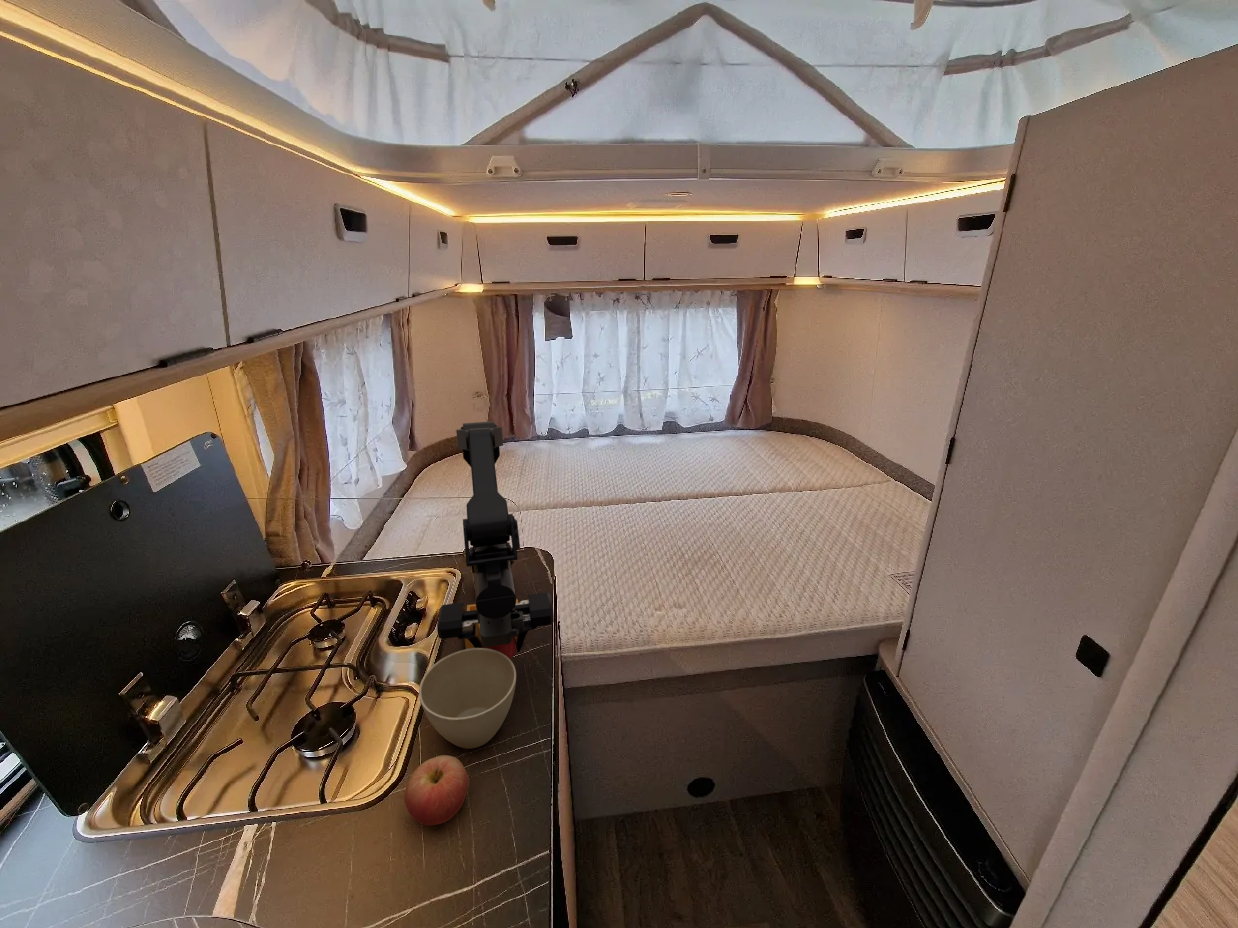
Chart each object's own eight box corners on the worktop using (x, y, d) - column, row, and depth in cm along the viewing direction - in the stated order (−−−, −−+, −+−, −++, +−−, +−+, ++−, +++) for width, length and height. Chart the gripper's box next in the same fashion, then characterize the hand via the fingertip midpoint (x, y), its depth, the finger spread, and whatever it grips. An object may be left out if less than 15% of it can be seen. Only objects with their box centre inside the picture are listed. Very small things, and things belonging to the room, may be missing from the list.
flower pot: (528, 750, 79) (525, 700, 75) (430, 783, 73) (421, 732, 70) (509, 683, 91) (506, 637, 87) (424, 708, 86) (416, 660, 82)
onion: (521, 651, 94) (519, 616, 91) (512, 675, 88) (509, 639, 85) (490, 649, 94) (487, 613, 91) (479, 673, 89) (475, 636, 86)
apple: (483, 796, 72) (478, 756, 69) (440, 850, 65) (432, 808, 62) (442, 770, 75) (435, 730, 72) (396, 818, 69) (387, 777, 66)
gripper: (428, 618, 75) (440, 698, 81) (556, 602, 79) (558, 679, 85) (435, 574, 85) (446, 648, 91) (548, 562, 89) (551, 634, 95)
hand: (500, 653), depth 91 cm, fingers closed on onion, 6 cm apart
